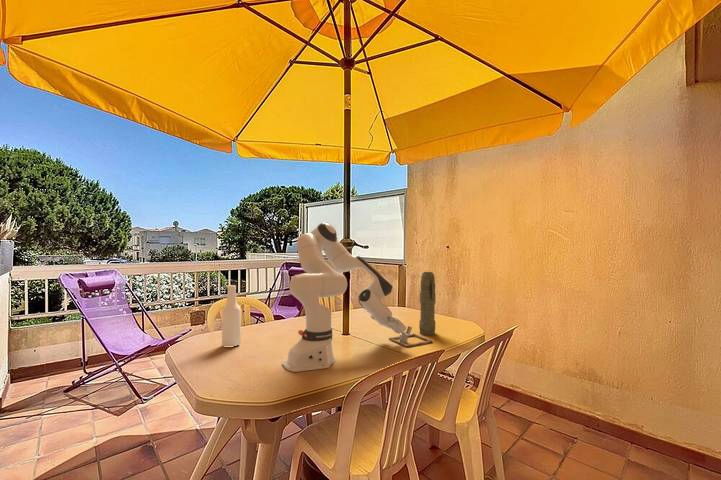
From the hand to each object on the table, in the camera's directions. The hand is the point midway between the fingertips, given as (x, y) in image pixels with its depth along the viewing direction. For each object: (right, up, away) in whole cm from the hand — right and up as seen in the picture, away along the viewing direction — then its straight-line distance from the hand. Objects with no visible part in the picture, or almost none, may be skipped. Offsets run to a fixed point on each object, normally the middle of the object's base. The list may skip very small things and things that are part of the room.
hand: (398, 332), depth 178 cm
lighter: (+4, -6, +2) cm, 8 cm away
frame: (+7, -6, +4) cm, 10 cm away
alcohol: (-84, -5, -6) cm, 84 cm away
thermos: (+19, -6, +19) cm, 27 cm away
